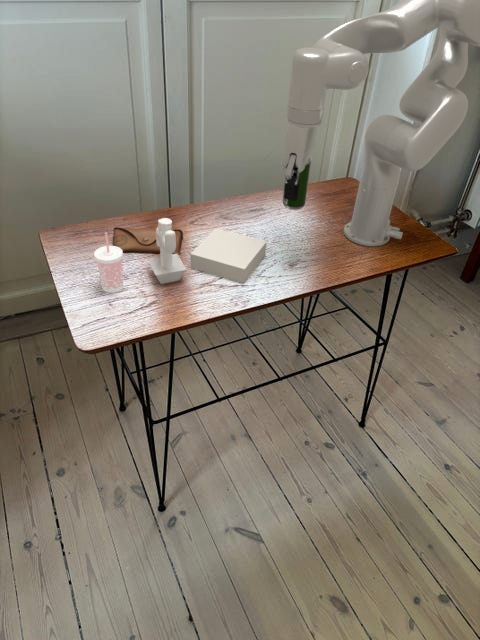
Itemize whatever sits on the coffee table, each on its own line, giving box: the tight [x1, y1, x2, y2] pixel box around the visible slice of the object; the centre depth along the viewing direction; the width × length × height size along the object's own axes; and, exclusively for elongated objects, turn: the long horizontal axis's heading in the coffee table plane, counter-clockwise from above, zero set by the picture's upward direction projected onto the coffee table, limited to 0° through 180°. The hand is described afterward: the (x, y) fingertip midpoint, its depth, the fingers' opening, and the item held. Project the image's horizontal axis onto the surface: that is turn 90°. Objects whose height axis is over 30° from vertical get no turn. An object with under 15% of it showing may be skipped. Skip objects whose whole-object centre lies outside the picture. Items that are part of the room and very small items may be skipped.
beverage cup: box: [93, 231, 124, 294], centre depth 112 cm, size 6×6×14 cm
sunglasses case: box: [112, 226, 184, 256], centre depth 130 cm, size 18×7×7 cm, turn 93°
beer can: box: [282, 158, 312, 211], centre depth 117 cm, size 5×5×12 cm
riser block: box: [189, 227, 267, 284], centre depth 126 cm, size 14×14×4 cm
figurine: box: [147, 217, 187, 285], centre depth 116 cm, size 7×9×15 cm
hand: (294, 193), depth 119 cm, fingers closed on beer can, 5 cm apart
